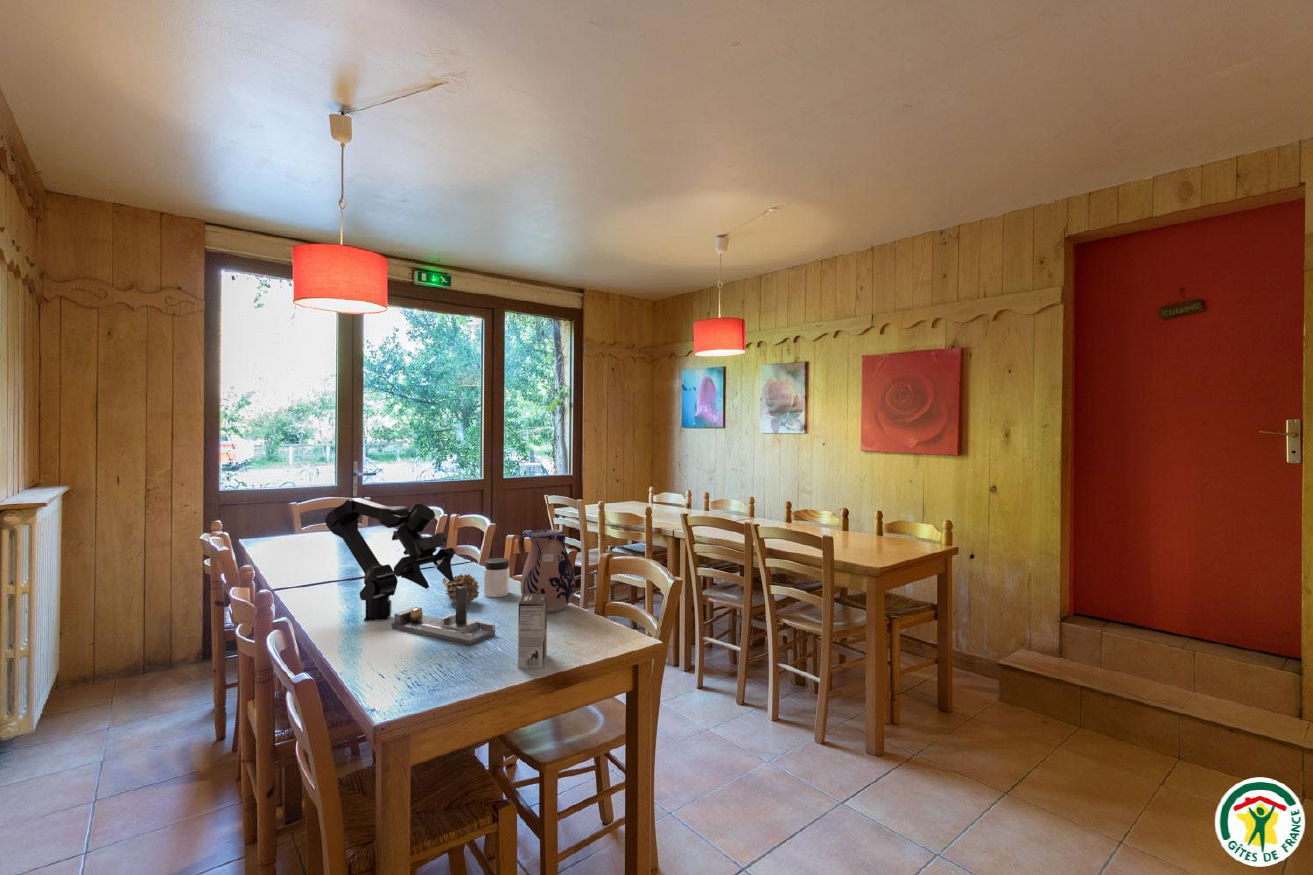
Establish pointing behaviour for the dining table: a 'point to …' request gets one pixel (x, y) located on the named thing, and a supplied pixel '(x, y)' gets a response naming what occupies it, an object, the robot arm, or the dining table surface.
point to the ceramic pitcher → (547, 568)
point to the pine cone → (462, 581)
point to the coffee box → (532, 630)
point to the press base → (439, 628)
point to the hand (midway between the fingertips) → (440, 584)
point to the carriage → (460, 614)
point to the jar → (496, 577)
